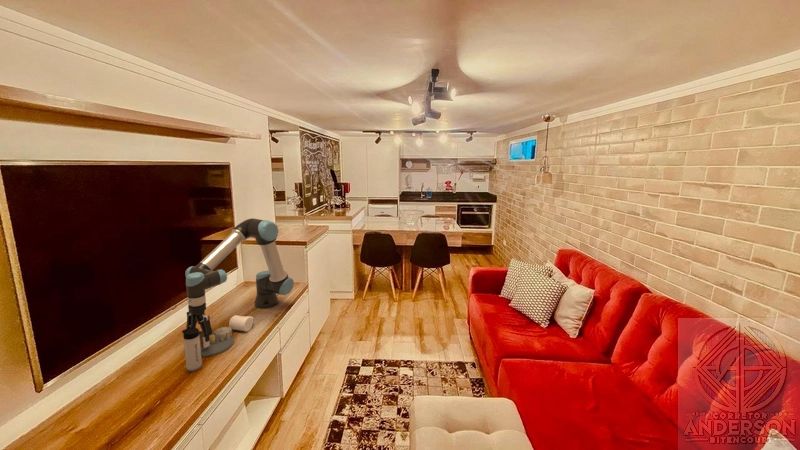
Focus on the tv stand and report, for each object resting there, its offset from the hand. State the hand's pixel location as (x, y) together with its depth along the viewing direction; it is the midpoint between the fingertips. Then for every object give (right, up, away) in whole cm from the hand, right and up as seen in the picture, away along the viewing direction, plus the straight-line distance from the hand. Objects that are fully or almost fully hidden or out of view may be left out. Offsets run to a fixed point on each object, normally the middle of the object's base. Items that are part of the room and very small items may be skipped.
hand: (200, 344), depth 165 cm
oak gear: (0, 0, 0) cm, 0 cm away
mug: (+10, 0, +26) cm, 27 cm away
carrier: (+2, -3, +7) cm, 8 cm away
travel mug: (+4, -7, -11) cm, 14 cm away
